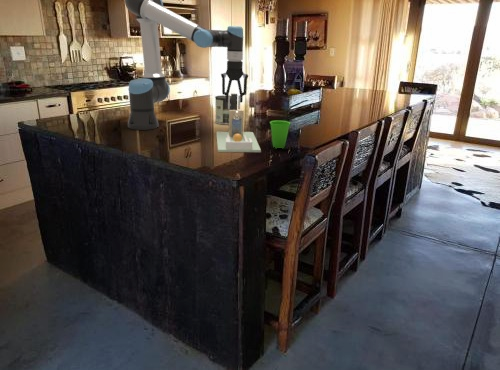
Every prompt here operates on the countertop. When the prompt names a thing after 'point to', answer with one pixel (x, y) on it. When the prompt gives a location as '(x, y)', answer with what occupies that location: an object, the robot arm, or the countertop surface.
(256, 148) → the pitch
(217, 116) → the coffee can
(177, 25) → the robot arm
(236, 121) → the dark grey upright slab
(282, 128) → the cup
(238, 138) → the ball
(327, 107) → the countertop surface
